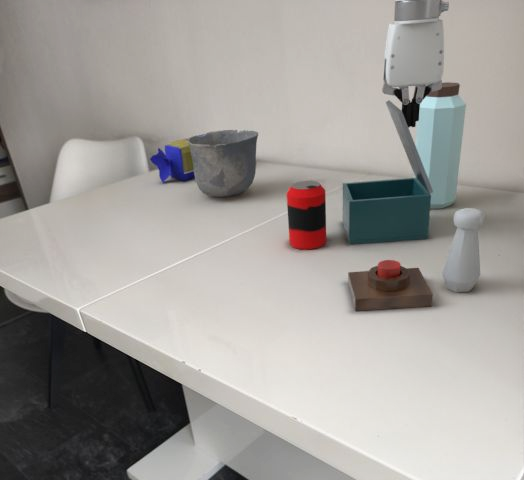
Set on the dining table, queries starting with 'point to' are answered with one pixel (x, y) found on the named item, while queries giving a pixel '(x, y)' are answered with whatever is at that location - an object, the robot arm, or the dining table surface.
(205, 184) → the cup
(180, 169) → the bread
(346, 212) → the tin
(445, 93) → the water bottle
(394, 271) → the button
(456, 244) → the salt shaker
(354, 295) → the button block
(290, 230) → the soda can
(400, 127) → the lid
